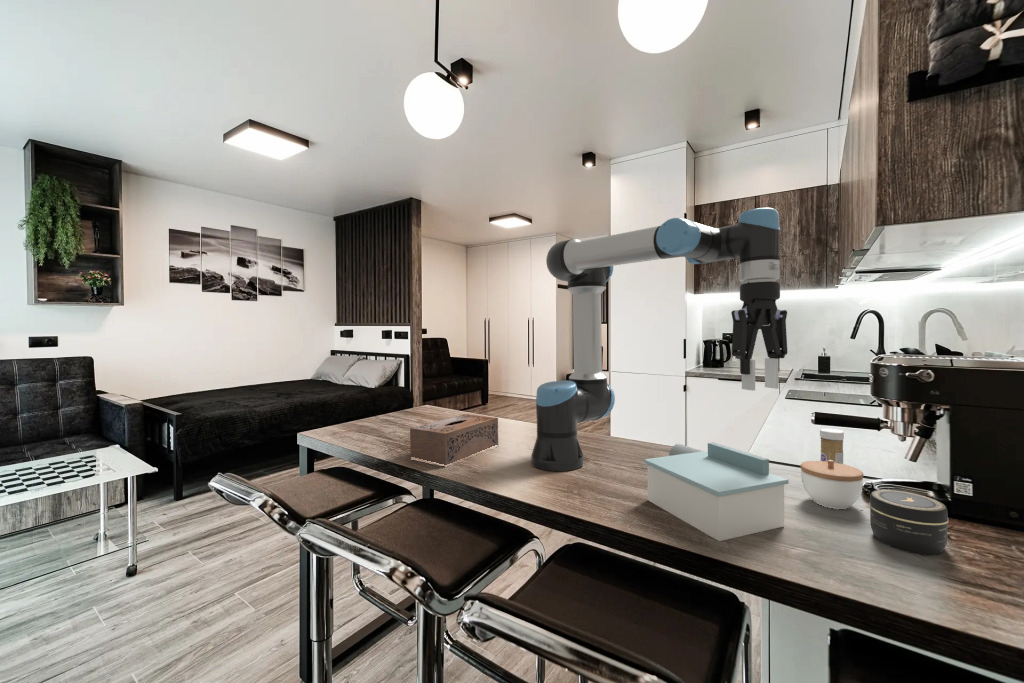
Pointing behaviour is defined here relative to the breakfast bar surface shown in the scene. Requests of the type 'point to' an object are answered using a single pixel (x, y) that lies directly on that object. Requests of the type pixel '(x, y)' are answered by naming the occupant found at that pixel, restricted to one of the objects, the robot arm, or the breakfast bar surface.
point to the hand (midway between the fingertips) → (760, 388)
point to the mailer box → (717, 506)
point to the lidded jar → (832, 483)
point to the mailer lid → (720, 470)
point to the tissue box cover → (453, 438)
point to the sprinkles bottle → (832, 445)
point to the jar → (909, 521)
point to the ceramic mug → (682, 450)
